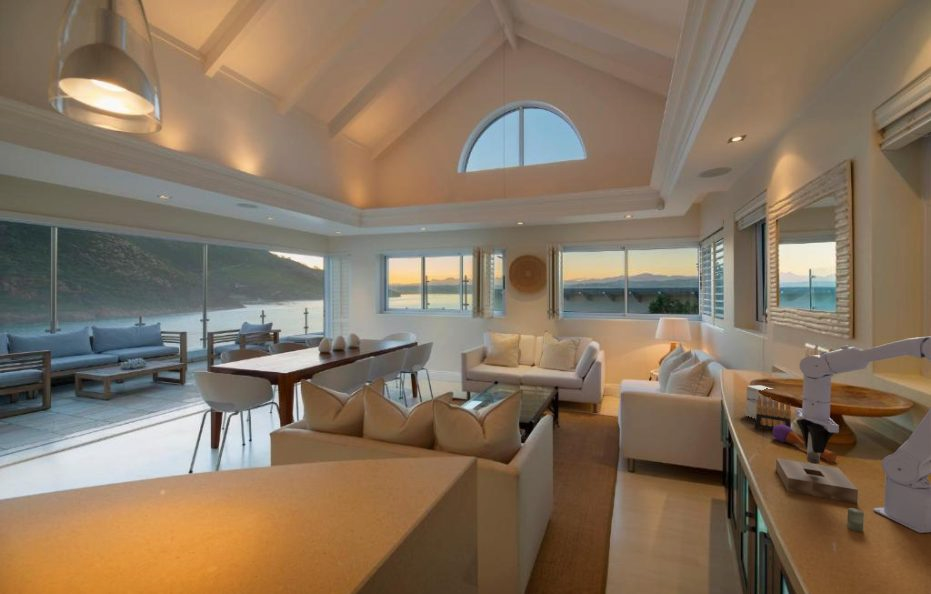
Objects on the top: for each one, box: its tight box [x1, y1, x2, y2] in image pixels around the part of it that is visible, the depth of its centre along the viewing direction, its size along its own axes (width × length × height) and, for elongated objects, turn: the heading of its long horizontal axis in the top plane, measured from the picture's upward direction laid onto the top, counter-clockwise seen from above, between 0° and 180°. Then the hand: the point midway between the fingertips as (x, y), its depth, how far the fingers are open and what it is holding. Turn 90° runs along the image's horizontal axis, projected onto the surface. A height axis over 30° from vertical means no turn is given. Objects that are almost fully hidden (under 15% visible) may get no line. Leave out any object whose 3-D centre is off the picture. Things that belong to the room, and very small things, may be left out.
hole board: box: [775, 457, 859, 504], centre depth 114 cm, size 14×14×4 cm
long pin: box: [806, 431, 821, 465], centre depth 114 cm, size 3×3×8 cm
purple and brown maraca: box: [771, 424, 837, 463], centre depth 139 cm, size 6×6×20 cm
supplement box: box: [745, 385, 775, 420], centre depth 171 cm, size 7×7×13 cm
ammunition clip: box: [754, 396, 792, 430], centre depth 158 cm, size 11×2×12 cm, turn 54°
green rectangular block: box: [846, 507, 865, 533], centre depth 94 cm, size 3×3×4 cm
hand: (814, 450), depth 114 cm, fingers closed on long pin, 3 cm apart
